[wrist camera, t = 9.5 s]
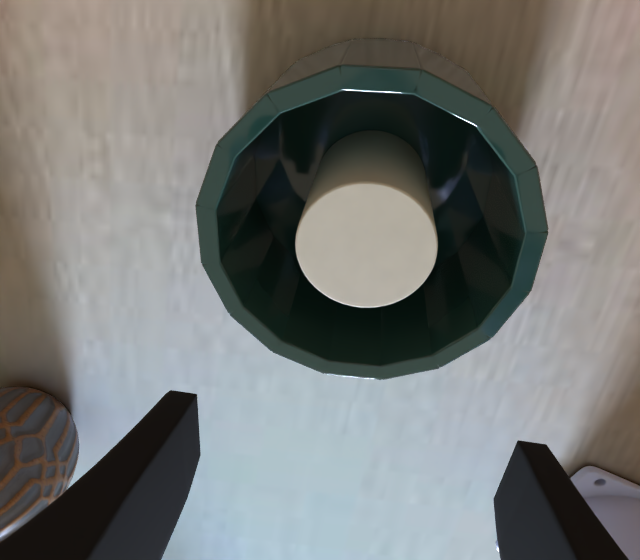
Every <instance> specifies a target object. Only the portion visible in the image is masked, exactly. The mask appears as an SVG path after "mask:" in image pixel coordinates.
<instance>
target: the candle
mask: <svg viewBox="0 0 640 560" xmlns="http://www.w3.org/2000/svg"><path fill="white" fill-rule="evenodd" d="M295 247H296V255H297V259H298V262H299V265H300V267H301V269H302V271H303V273H304V275H305V276H306V277H307V279H308V280H309V281H310V283H311V284H312V285H313V286H314V287H315V288H316V289H318V290H319V291H320V292H321V293H323V294H324V295H326V296H327V297H329V298H331V299H333V300H335V301H337V302H340V303H342V304H346V305H350V306H355V307H366V308H370V307H380V306H385V305H389V304H392V303H395V302H397V301H400V300H402V299H404V298H406V297H407V296H409V295H410V294H412V293H413V292H414V291H416V290H417V289H418V288H419V287H420V286H421V285H422V284H423V283H424V281H425V280H426V279H427V278H428V276H429V274H430V273H431V271H432V269H433V266H434V264H435V261H436V257H437V251H438V237H437V232H436V227H435V221H434V216H433V210H432V205H431V200H430V194H429V189H428V183H427V178H426V173H425V168H424V166H423V163H422V161H421V159H420V157H419V155H418V154H417V153H416V151H415V150H414V149H413V148H412V147H411V146H410V145H409V144H408V143H407V142H405V141H404V140H403V139H401V138H399V137H398V136H395V135H393V134H391V133H387V132H383V131H376V130H367V131H360V132H356V133H352V134H350V135H348V136H345V137H344V138H342V139H340V140H339V141H337V142H336V143H335V144H333V145H332V146H331V147H330V148H329V149H328V151H327V152H326V153H325V155H324V156H323V158H322V160H321V161H320V164H319V166H318V169H317V172H316V175H315V178H314V181H313V184H312V186H311V189H310V192H309V195H308V198H307V201H306V204H305V207H304V210H303V213H302V216H301V219H300V221H299V224H298V228H297V232H296V239H295Z"/></svg>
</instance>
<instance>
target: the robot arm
mask: <svg viewBox="0 0 640 560" xmlns="http://www.w3.org/2000/svg"><path fill="white" fill-rule="evenodd" d="M199 458H200V440H199V423H198V406H197V394H192V393H185V392H179V391H172V390H171V391H169V392H168V393H166V394H165V395H164V396H163V397H162V399H161V400H160V401H159V402H158V403H157V404H156V405H155V406H154V407H153V408H152V409H151V410H150V411H149V412H148V413H147V414H146V415H145V417H144V418H143V419H142V420H141V421H140V422H139V423H138V424H137V425H136V426H135V427H134V428H133V429H132V430H131V431H130V432H129V433H128V434H127V435H126V436H125V437H124V438H123V439H122V440H121V441H120V442H119V443H118V444H117V445H116V446H114V447H113V448H112V449H111V450H110V451H109V452H108V453H107V454H106V455H105V456H104V457H103V458H102V459H101V460H100V461H99V462H98V463H97V464H96V465H95V466H93V467H92V468H91V469H90V470H89V471H88V472H87V473H86V474H84V475H83V476H82V477H81V478H80V479H79V480H78V481H76V482H75V483H74V484H73V485H72V486H71V487H70V488H68V489H67V490H66V491H65V492H64V493H63V494H62V495H60V496H59V497H58V498H57V499H56V500H54V501H53V502H52V503H51V504H50V505H48V506H47V507H46V508H45V509H43V510H42V511H41V512H40V513H38V514H37V515H36V516H35V517H33V518H32V519H31V520H29V521H28V522H27V523H26V524H24V525H23V526H22V527H20V528H19V529H18V530H16V531H15V532H14V533H12V534H11V535H10V536H8V537H7V538H6V539H4V540H3V541H1V542H0V560H161V558H162V556H163V554H164V552H165V549H166V547H167V545H168V542H169V540H170V538H171V535H172V533H173V531H174V528H175V526H176V524H177V521H178V519H179V517H180V514H181V512H182V510H183V507H184V505H185V502H186V500H187V497H188V494H189V491H190V488H191V485H192V481H193V478H194V475H195V471H196V468H197V465H198V461H199ZM494 510H495V521H496V531H497V541H496V548H497V550H498V551H499V553H500V558H501V560H640V486H639V485H637V484H634V483H632V482H630V481H627V480H625V479H623V478H620V477H618V476H616V475H614V474H611V473H609V472H607V471H604V470H602V469H600V468H597V467H594V466H586V467H583V468H582V469H580V470H579V471H578V472H577V473H576V474H574V475H573V476H572V477H571V478H569V477H568V475H567V474H566V472H565V471H564V469H563V468H562V466H561V465H560V464H559V462H558V461H557V459H556V458H555V456H554V455H553V453H552V452H551V451H550V449H549V448H548V446H547V445H545V444H539V443H532V442H525V441H517V444H516V446H515V449H514V451H513V453H512V456H511V458H510V461H509V463H508V466H507V468H506V470H505V473H504V475H503V478H502V480H501V482H500V485H499V487H498V490H497V492H496V495H495V497H494Z"/></svg>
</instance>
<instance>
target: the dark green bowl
mask: <svg viewBox="0 0 640 560" xmlns="http://www.w3.org/2000/svg"><path fill="white" fill-rule="evenodd" d="M367 130H376V131H383V132H387V133H391V134H393V135H395V136H398V137H399V138H401V139H403V140H404V141H405V142H407V143H408V144H409V145H410V146H411V147H412V148H413V149H414V150H415V151H416V153H417V154H418V155H419V157H420V159H421V161H422V163H423V166H424V168H425V173H426V178H427V183H428V189H429V194H430V200H431V205H432V210H433V216H434V221H435V227H436V232H437V237H438V251H437V257H436V261H435V264H434V266H433V269H432V271H431V273H430V274H429V276H428V278H427V279H426V280H425V281H424V283H423V284H422V285H421V286H420V287H419V288H418V289H417V290H416V291H414V292H413V293H412V294H410V295H409V296H407V297H406V298H404V299H402V300H400V301H397V302H395V303H392V304H389V305H385V306H380V307H370V308H366V307H355V306H350V305H346V304H342V303H340V302H337V301H335V300H333V299H331V298H329V297H327V296H326V295H324V294H323V293H321V292H320V291H319V290H318V289H316V288H315V287H314V286H313V285H312V284H311V283H310V281H309V280H308V279H307V277H306V276H305V275H304V273H303V271H302V269H301V267H300V265H299V262H298V259H297V255H296V247H295V239H296V232H297V228H298V224H299V221H300V219H301V216H302V213H303V210H304V207H305V204H306V201H307V198H308V195H309V192H310V189H311V186H312V184H313V181H314V178H315V175H316V172H317V169H318V166H319V164H320V161H321V160H322V158H323V156H324V155H325V153H326V152H327V151H328V149H329V148H330V147H331V146H332V145H333V144H335V143H336V142H337V141H339V140H340V139H342V138H344V137H345V136H348V135H350V134H352V133H356V132H360V131H367ZM196 215H197V225H198V235H199V245H200V255H201V263H202V265H203V267H204V269H205V271H206V273H207V275H208V276H209V278H210V280H211V282H212V284H213V286H214V287H215V289H216V291H217V293H218V295H219V297H220V298H221V300H222V302H223V304H224V306H225V308H226V309H227V311H228V313H230V316H231V317H233V318H234V319H235V320H236V321H237V322H238V323H239V324H241V325H242V326H243V327H244V328H245V329H246V330H247V331H249V332H250V333H251V334H252V335H253V336H254V337H256V338H257V339H258V340H259V341H260V342H261V343H262V344H264V345H265V346H266V347H267V348H268V349H269V350H270V351H272V352H273V353H276V354H278V355H280V356H283V357H285V358H287V359H290V360H292V361H295V362H297V363H299V364H302V365H304V366H306V367H309V368H311V369H314V370H316V371H318V372H321V373H323V374H324V373H325V374H328V375H338V376H348V377H358V378H368V379H378V380H382V379H383V380H384V379H389V378H394V377H399V376H404V375H409V374H414V373H419V372H424V371H429V370H434V369H438V368H439V367H443V366H444V365H446V364H448V363H450V362H451V361H453V360H455V359H457V358H458V357H460V356H462V355H464V354H465V353H467V352H469V351H471V350H472V349H474V348H476V347H478V346H480V345H481V344H483V343H485V342H487V341H488V340H490V339H491V338H492V337H493V336H494V335H495V334H496V333H497V332H498V330H499V329H500V328H501V327H502V326H503V324H504V323H505V322H506V321H507V320H508V318H509V317H510V316H511V315H512V314H513V312H514V311H515V310H516V309H517V308H518V306H519V305H520V304H521V303H522V302H523V301H524V299H525V298H526V297H527V296H528V295H529V293H530V291H531V290H532V287H533V283H534V280H535V276H536V273H537V270H538V266H539V263H540V259H541V256H542V253H543V249H544V246H545V243H546V239H547V236H548V224H547V218H546V212H545V206H544V200H543V195H542V189H541V183H540V177H539V171H538V167H537V165H536V162H535V161H534V159H533V158H532V157H531V155H530V154H529V153H528V151H527V150H526V148H525V147H524V146H523V144H522V143H521V142H520V140H519V139H518V138H517V136H516V135H515V134H514V132H513V131H512V130H511V128H510V127H509V126H508V124H507V123H506V122H505V120H504V119H503V118H502V116H501V115H500V114H499V112H498V111H497V109H496V108H495V107H494V106H493V104H492V103H491V102H490V100H489V99H488V98H487V96H486V95H485V94H484V92H483V91H482V90H481V88H480V87H479V86H478V84H477V83H476V82H475V80H474V79H473V78H472V77H471V75H470V74H469V73H468V72H467V71H466V70H465V69H464V68H462V67H460V66H458V65H456V64H455V63H453V62H451V61H450V60H448V59H447V58H445V57H443V56H442V55H440V54H438V53H436V52H434V51H432V50H429V49H427V48H425V47H422V46H420V45H418V44H417V43H413V42H407V41H401V40H392V39H384V38H374V39H353V40H348V41H345V42H342V43H339V44H336V45H332V46H329V47H326V48H324V49H322V50H320V51H318V52H315V53H313V54H311V55H309V56H307V57H304V58H302V59H299V60H298V61H297V62H295V63H294V64H293V65H292V66H291V67H290V68H289V69H288V70H287V71H286V72H285V73H284V74H283V75H282V76H281V77H280V78H279V79H278V80H277V81H276V82H275V83H274V84H273V85H272V86H271V87H270V88H269V89H268V90H267V91H266V92H265V93H264V94H263V95H262V96H261V97H260V98H259V99H258V100H257V101H256V103H255V104H254V105H253V106H252V107H251V108H250V109H249V110H248V111H247V112H246V113H245V114H244V115H243V116H242V117H241V118H240V119H239V120H238V121H237V122H236V123H235V124H234V125H233V126H232V127H231V128H230V130H229V131H228V132H227V133H226V134H225V135H224V136H223V137H222V138H221V139H220V140H219V141H218V143H217V144H216V146H215V149H214V152H213V155H212V158H211V160H210V163H209V166H208V169H207V172H206V175H205V178H204V181H203V184H202V186H201V189H200V192H199V195H198V198H197V201H196Z"/></svg>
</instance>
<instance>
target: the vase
mask: <svg viewBox="0 0 640 560" xmlns="http://www.w3.org/2000/svg"><path fill="white" fill-rule="evenodd" d="M78 454H79V439H78V433H77V429H76V426H75V424H74V421H73V419H72V417H71V415H70V413H69V412H68V410H67V409H66V408H65V407H64V405H63V404H62V403H60V402H59V401H58V400H57V399H55V398H54V397H52V396H50V395H49V394H47V393H45V392H42V391H39V390H36V389H32V388H26V387H5V388H0V542H1V541H3V540H4V539H6V538H7V537H8V536H10V535H11V534H12V533H14V532H15V531H16V530H18V529H19V528H20V527H22V526H23V525H24V524H26V523H27V522H28V521H29V520H31V519H32V518H33V517H35V516H36V515H37V514H38V513H40V512H41V511H42V510H43V509H45V508H46V507H47V506H48V505H50V504H51V503H52V502H53V501H54V500H56V499H57V498H58V497H59V496H60V495H62V494H63V493H64V492H65V491H66V490H67V488H68V486H69V484H70V482H71V480H72V477H73V474H74V471H75V468H76V464H77V460H78Z"/></svg>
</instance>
